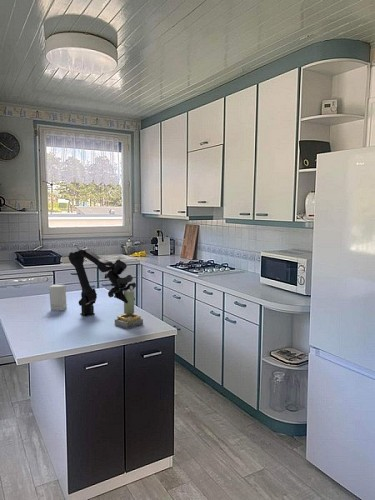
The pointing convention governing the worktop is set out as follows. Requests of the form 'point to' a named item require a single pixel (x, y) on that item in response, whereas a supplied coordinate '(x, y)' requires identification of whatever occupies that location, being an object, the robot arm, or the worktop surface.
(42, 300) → the worktop surface
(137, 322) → the grey and tan tray
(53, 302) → the skincare box
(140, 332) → the worktop surface
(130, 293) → the green and white bottle
